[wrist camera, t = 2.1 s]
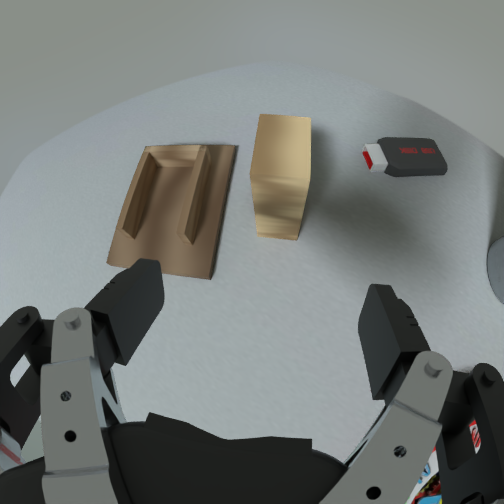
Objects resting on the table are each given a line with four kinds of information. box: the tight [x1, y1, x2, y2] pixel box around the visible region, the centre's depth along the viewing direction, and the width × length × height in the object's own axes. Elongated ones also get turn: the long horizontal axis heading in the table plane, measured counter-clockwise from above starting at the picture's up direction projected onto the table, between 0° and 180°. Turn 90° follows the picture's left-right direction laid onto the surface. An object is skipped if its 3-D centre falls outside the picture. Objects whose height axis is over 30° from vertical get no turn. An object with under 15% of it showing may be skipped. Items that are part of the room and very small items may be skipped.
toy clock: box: [405, 420, 481, 504], centre depth 14 cm, size 20×6×20 cm
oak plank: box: [250, 114, 311, 240], centre depth 24 cm, size 4×6×11 cm, turn 173°
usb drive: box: [362, 137, 448, 177], centre depth 30 cm, size 5×12×3 cm, turn 97°
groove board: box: [106, 145, 236, 280], centre depth 28 cm, size 12×16×4 cm
